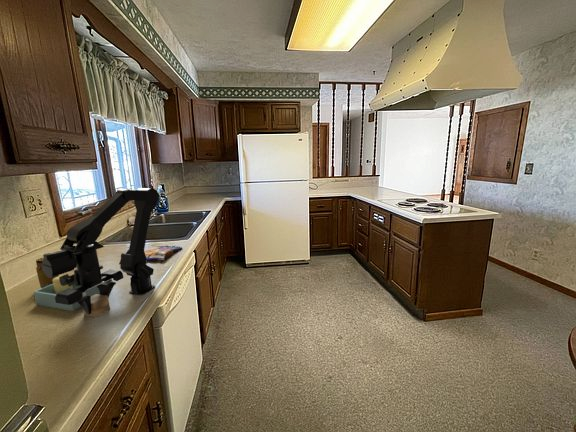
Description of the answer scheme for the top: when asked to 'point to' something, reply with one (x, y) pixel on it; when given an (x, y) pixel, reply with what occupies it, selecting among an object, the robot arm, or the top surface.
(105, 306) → the walnut cube
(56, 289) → the yellow teardrop shape
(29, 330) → the top surface
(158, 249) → the food package
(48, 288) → the tote
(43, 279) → the condiment
